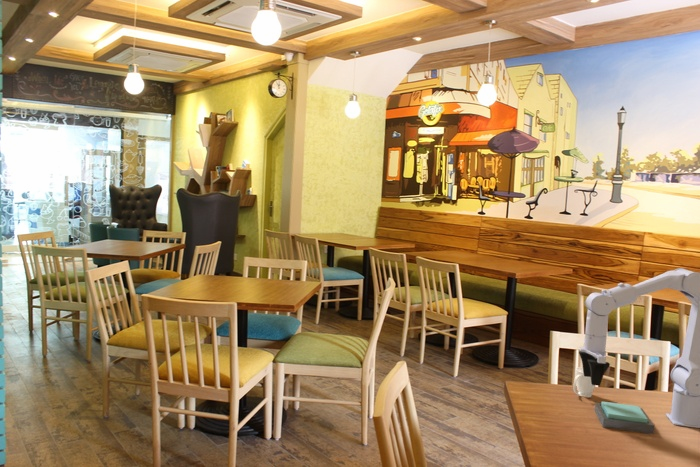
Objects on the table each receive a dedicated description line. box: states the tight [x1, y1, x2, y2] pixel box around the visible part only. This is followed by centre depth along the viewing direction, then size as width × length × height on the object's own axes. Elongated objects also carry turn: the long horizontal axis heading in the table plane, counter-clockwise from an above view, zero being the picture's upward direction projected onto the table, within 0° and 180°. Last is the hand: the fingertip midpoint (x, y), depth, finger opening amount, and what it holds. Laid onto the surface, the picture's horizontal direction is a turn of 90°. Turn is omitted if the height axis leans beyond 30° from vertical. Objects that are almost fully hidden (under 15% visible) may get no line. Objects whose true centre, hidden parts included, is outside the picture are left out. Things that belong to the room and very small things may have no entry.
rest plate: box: [600, 401, 648, 423], centre depth 163 cm, size 10×10×2 cm
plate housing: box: [594, 401, 655, 435], centre depth 163 cm, size 13×13×2 cm
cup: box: [572, 366, 596, 398], centre depth 183 cm, size 7×10×8 cm
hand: (591, 380), depth 167 cm, fingers open, 7 cm apart
